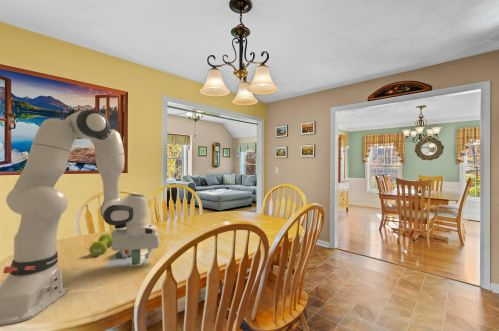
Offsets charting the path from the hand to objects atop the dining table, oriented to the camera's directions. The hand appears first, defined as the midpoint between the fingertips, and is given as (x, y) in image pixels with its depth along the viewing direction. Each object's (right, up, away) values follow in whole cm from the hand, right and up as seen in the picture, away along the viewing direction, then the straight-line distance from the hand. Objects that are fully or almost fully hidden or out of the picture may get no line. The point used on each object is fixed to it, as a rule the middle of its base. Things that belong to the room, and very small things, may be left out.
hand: (136, 258), depth 110 cm
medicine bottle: (-24, -2, +30) cm, 39 cm away
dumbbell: (-26, -3, +16) cm, 30 cm away
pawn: (0, -2, 0) cm, 2 cm away
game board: (-6, -3, +8) cm, 10 cm away
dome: (-10, +1, +9) cm, 13 cm away
